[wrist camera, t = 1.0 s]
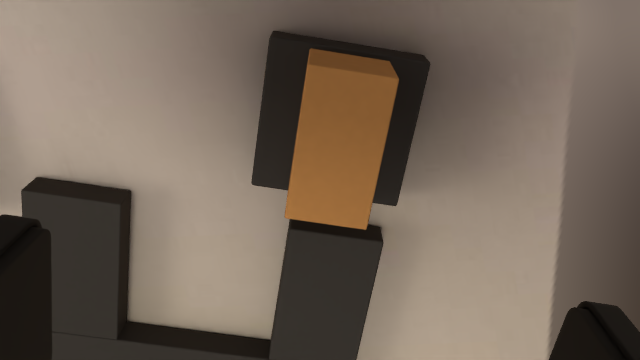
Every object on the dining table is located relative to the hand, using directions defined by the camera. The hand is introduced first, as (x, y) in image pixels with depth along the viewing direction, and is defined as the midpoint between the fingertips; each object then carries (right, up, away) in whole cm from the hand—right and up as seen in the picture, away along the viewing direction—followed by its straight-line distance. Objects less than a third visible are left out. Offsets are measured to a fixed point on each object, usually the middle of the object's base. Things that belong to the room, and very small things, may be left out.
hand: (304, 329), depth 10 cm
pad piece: (+1, +5, +15) cm, 16 cm away
